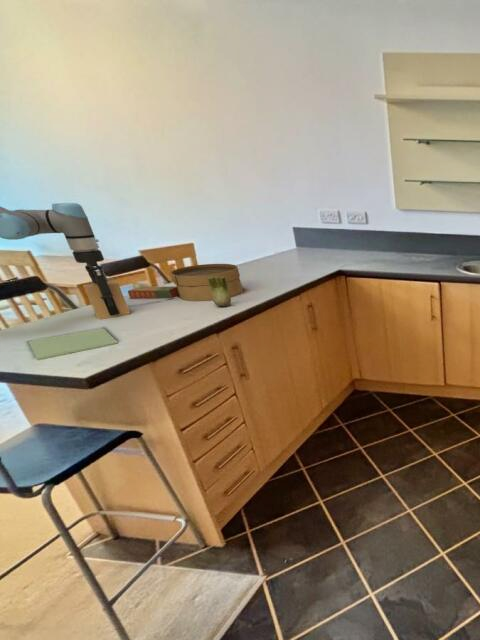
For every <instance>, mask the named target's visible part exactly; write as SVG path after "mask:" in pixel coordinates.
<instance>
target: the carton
mask: <svg viewBox="0 0 480 640" xmlns="http://www.w3.org/2000/svg"><path fill="white" fill-rule="evenodd" d="M127 294H128V296H129V299H130V300H137V299H138V300H141V299H142V300H143V299H144V300H145V299H146V300H147V299H150V300H151V299H165V300H166V301H171V300H174V299H175V297H177V298H178V297H179V298H180V295H179V292H178V289H177V286H138V287H135V288H132V289H129V290H127Z"/></svg>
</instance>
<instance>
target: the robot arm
mask: <svg viewBox="0 0 480 640" xmlns="http://www.w3.org/2000/svg"><path fill="white" fill-rule="evenodd" d="M45 234H63V235H64V237H65V240H66V242H67V245H68V247H69V249H70V251H72V255H73V258H74V260H75V262H76V263H78V264H86V265H85V267H84V268H85V270H86V272H87V273H88V277H90V280H91V283H97V285H98V287H99V290H100V292H101V294H102V297H100V298H101V299H103V300H104V303H105V305H106V307H107V309H108V312H109V314H110V316H111V315H117V314H119V311H118V309H117V306H116V304H115V302H114V299H113V297H112V296H113V294H112V293H111V290H110V288H109V286H108V283H107V281H108V280H107V279H106V276H105V273H104V270H103V268H102V266H100V265H99V264H98V262H100V263H101V262H104V260H105V257H104V254H103V253H102V251H101V250H100V246H99V244H98V243H99V242H100V241H99V239H97V238H96V237H95V234H94V231H93V228H92V226H91V224H90V221H89V218H88V216H87V214H86V212H85V209H84V207H83V206H82V205H81V204H79V203H78V202H77V203H76V202H56V203H52V204H51V209H11V210H9V209H7V208H5V207H3V206H0V238H1V239H4V240H8V241H9V240H10V241H11V240H22V239H25V238H29V237H33V236H38V235H45ZM18 279H19V277H18V276H15V277H13V278H10V279H7V280H5V281H9V282H11V281H10V280H12V281H14V280H18ZM108 293H109V294H108Z"/></svg>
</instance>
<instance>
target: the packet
mask: <svg viewBox="0 0 480 640" xmlns="http://www.w3.org/2000/svg"><path fill="white" fill-rule="evenodd" d="M106 281H107V283H108V286H109V288H110V290H111V293H112V294H113V296H112V297H113V299H114V302H115V304H116V306H117V309H118V311H119V314H117V315H111V316H110V314H109V312H108V309H107V307H106V305H105V303H104V300H103V299H101V298H100V297H102V294H101V292H100V290H99V287H98V285H97V283H93V282H91V283H84V284H82V287H83V289H84V291H85V294H86V296H87V298H88V300H89V303H90V305H91V307H92V310H93V311H94V314H95V316H96V318H98V319H99V320H105V319H109V318H115V317H120V316H127V315H131V311H130V308H129V307H128V304H127V302H126V299H125V297H124V294H123V292H122V290H121V286H120V285H119V282H118V281H116V280H106ZM108 294H109V293H108Z"/></svg>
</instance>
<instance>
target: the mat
mask: <svg viewBox="0 0 480 640" xmlns="http://www.w3.org/2000/svg"><path fill="white" fill-rule="evenodd" d="M28 344H29V345H30V348H31V350H32V352H33V354H34V356H35V358H36V360H37V361H41V360H45V359H50V358H54V357H55V358H56V357H59V356H64V355H68V354H75V353H78V352H83V351H84V352H85V351H89V350H93V349H99V348H104V347H107V346H108V347H109V346H113V345H118V344H119V342H118V341H117V340H116V339H115V337H113V336H112V335H111V334H110V333H109V332H108V331H107V330H106V329H105V328H96V329H92V330H85V331H81V332H80V331H79V332H75V333H70V334H64V335H59V336H53V337H47V338H41V339H36V340H32V341H31V340H30V341H28Z"/></svg>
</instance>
